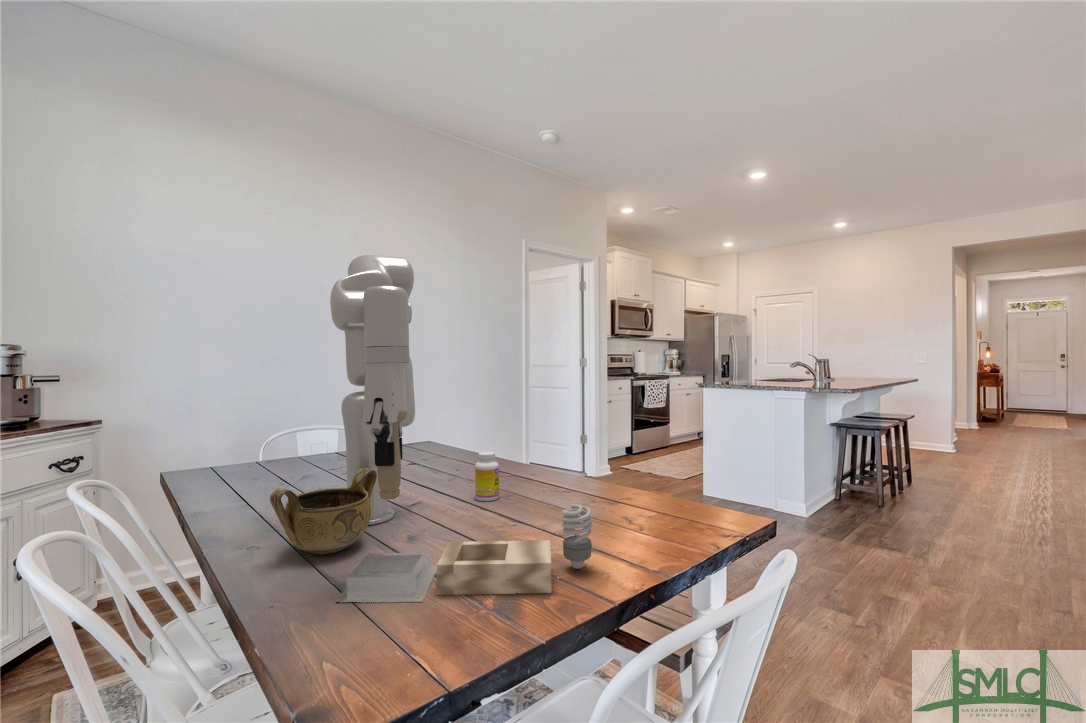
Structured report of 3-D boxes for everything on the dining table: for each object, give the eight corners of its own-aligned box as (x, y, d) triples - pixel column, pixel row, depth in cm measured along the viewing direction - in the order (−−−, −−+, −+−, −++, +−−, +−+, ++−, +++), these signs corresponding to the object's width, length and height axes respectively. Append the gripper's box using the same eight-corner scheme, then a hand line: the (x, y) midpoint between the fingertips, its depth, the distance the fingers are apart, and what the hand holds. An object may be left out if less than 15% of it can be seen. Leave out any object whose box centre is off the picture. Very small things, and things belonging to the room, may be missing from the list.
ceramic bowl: (352, 526, 118) (350, 463, 118) (399, 540, 109) (398, 471, 109) (253, 558, 100) (252, 483, 100) (300, 578, 90) (298, 495, 90)
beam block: (437, 594, 83) (436, 564, 83) (449, 568, 94) (448, 541, 94) (551, 593, 83) (550, 563, 83) (550, 566, 94) (550, 540, 94)
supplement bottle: (497, 501, 137) (497, 455, 137) (473, 502, 137) (473, 455, 137) (500, 495, 144) (499, 450, 144) (477, 495, 144) (476, 451, 144)
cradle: (335, 603, 81) (335, 581, 81) (364, 569, 94) (364, 550, 94) (422, 601, 81) (421, 580, 81) (438, 568, 94) (438, 549, 94)
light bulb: (560, 563, 95) (559, 500, 95) (589, 562, 95) (588, 499, 95) (564, 576, 89) (563, 509, 89) (595, 575, 90) (594, 508, 90)
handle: (413, 495, 88) (412, 410, 88) (382, 504, 83) (381, 414, 83) (396, 491, 91) (394, 409, 91) (365, 500, 86) (363, 412, 86)
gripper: (381, 358, 95) (382, 454, 95) (346, 358, 79) (349, 474, 79) (420, 358, 95) (422, 453, 95) (394, 357, 79) (396, 473, 79)
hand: (389, 461), depth 87 cm, fingers closed on handle, 3 cm apart
